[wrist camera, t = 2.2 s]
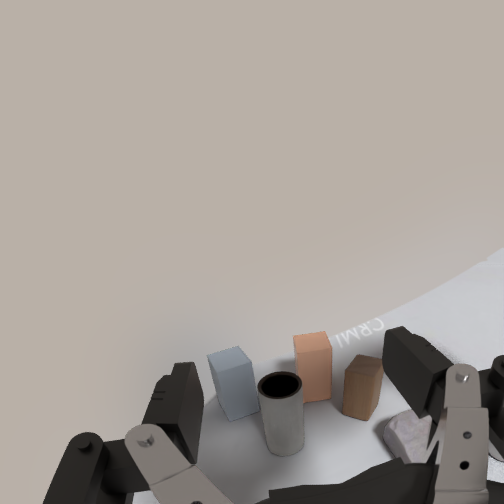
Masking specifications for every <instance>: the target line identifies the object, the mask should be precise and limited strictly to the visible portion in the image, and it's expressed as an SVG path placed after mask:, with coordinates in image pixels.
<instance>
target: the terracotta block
mask: <svg viewBox="0 0 504 504" xmlns="http://www.w3.org/2000/svg"><path fill="white" fill-rule="evenodd" d="M293 339H294V353H295V367H296V375H298V376H299V377H300V378H301V380H302V384H303V403H306V402H313V401H319V400H325V399H331V385H332V346H331V344H330V342H329V339H328V337H327V335H326V332H325V331H323V332H317V333H310V334H302V335H295V336H293Z"/></svg>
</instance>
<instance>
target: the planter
mask: <svg viewBox="0 0 504 504" xmlns="http://www.w3.org/2000/svg"><path fill="white" fill-rule="evenodd" d="M257 388H258V395H259V401H260V407H261V413H262V418H263V424H264V430H265V436H266V442H267V446H268V448H269V450H270V451H271V452H272V453H274V454H276V455H279V456H289V455H293V454H295V453H297V452H298V451H300V450H301V449H302V447H303V445H304V408H303V384H302V380H301V378H300V377H299V376H298V375H296V374H294V373H291V372H285V371H281V372H274V373H271V374H268V375H266V376H265V377H263V378H262V379H261V380H260V381H259V383H258V387H257Z"/></svg>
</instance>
